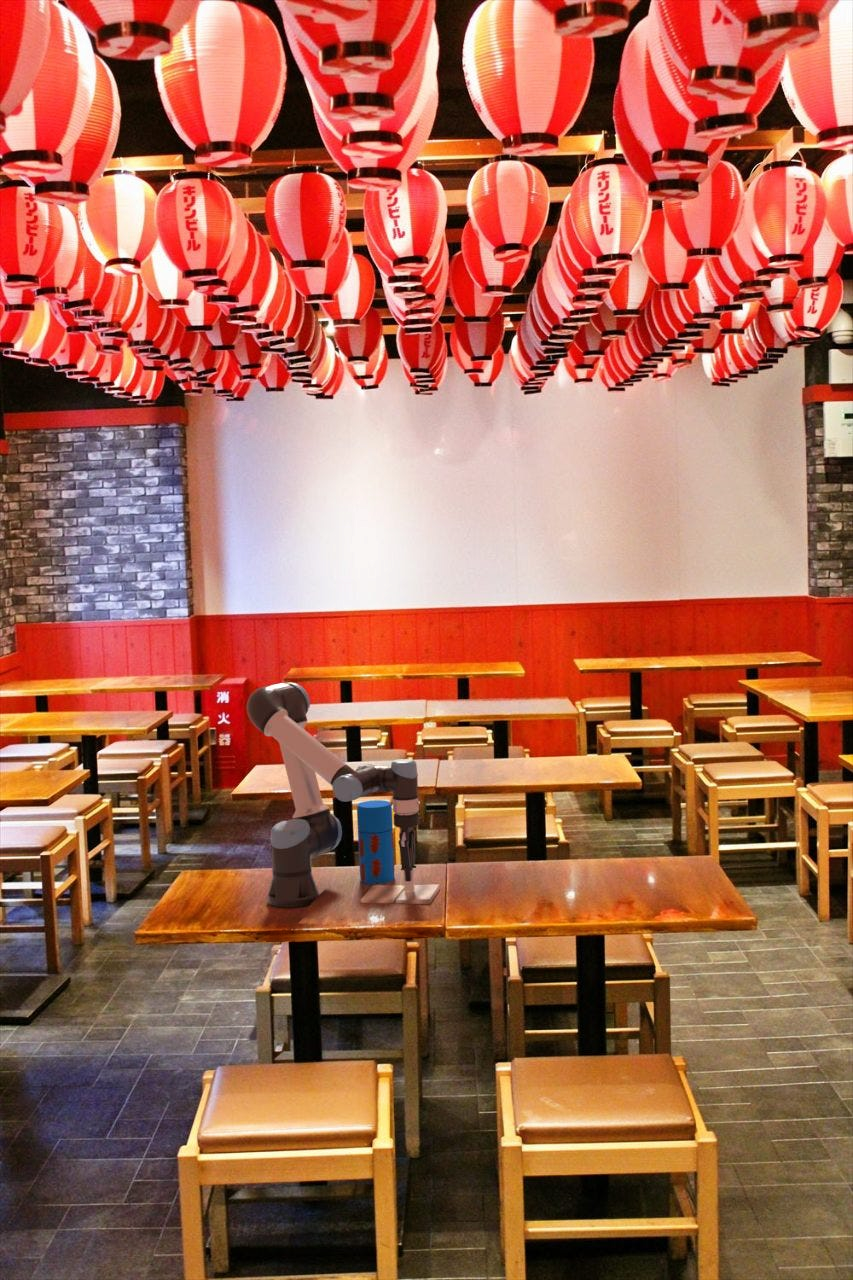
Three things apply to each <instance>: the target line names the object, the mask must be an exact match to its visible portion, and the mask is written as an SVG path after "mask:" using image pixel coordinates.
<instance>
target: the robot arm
mask: <svg viewBox="0 0 853 1280" xmlns="http://www.w3.org/2000/svg"><path fill="white" fill-rule="evenodd" d="M310 701H311V699H310V696H309V693H307V690H305V688H304V687H303V686H302V685H300V684H298V683H295V682H280V683H277V684H271V685H268V686H262V687H259V688H257V689H255V690H254V691H253V692H252V693H251V694H250V695H249V697H248V700H247V703H246V711H247V716H248V718H249V720H250V722H251V723H252V724H253V725H254V727H255V728H256V729H258V730H259V732H261V733H262V734H263V735H264V736H265V737H273V739H275V740H276V741H277V742H278V743H279V747H280V748H279V749H280V751H281V756H282V760H283V763H284V767H285V772H286V775H287V776H286V777H287V779H288V783H289V788H290V791H291V796H292V800H293V803H294V809H295V810H294V811H295V812H294V814H293V815H292V819H291V818H290V819H288V820H283V821H280V822H277V823H276V824H274V826H273V827H271V830H270V839H269V842H270V851H271V853H270V855H271V869H272V877H271V878H272V879H271V882H270V886H269V889H268V893H267V903H268V905H270V906H272V905H273V906H272V907H275V906H276V907H275V908H283V907H285V908H287V909H289V908H298V907H299V908H300V907H306V906H309V905H312V903H314V901H316V900H317V899H318V897H319V895H320V894H319V892H320V891H319V888H318V887H317V884H316V881H315V878H314V876H313V874H312V873H313V872H312V869H313V868H312V860H313V859H315V858H318V857H319V856H321V855H326V854H328V853H330V852H331V851H332V850H334V849H336V847H337V846H338V845H339V843H340V842H341V840H342V836H343V829H342V828H343V827H342V825H341V821H340V820H339V818H337V817H336V815H334V814H333V813H331V810H330V807H329V806H328V805H326V804H325V803H324V801H323V798H322V794H321V790H320V787H319V782H318V777H317V775H318V776H319V777H321V778H323V780H324V781H326V783H328V784H330V786H332V793H333V794H334V796H335V798H336V799H337V800H339V801H340V802H351V801H355V800H357V799H360V798H362V797H365V796H367V795H370V794H374V793H375V792H389V793H391V792H392V812H393V825H394V827H396V828H400V832H399V835H398V836H399V837H398V838H399V840H398V846H399V853H400V854H399V856H400V864H401V868H400V871H403V884H404V885H403V886H404V890H405V892H414V890H415V889H414V885H415V870H414V869H417V865H415V864H416V835H417V833H416V830H414V828H415V827H417V826H419V825H420V813H419V810H420V809H419V808H420V807H419V805H420V804H421V801H420V800H419V791H418V790H419V789H418V788H419V786H418V785H419V784H418V783H419V781H418V776H419V774H418V766H417V763H416V761H415V760H414V759H410V758H399V759H394V760H392V761H391V765H378V764H372V763H370V764H361V765H359V766H357V768H356V769H353V768H352V767H351V766H349V765H348V764H347V763H346V762H344V761H343V760H342V759H340V757H338V756H337V755H335V753H333V752H332V751H331V750H330V749H329V748H327V747H326V746H325V745H324V744H322V743H321V742H320V741H319V740H317V739H316V737H314V736H313V735H312V734H311V733H309V732H308V731H307V730H306V729H305V727H306V725H307V724H308V717H307V714H308V712H309V709H310V706H311V702H310Z"/></svg>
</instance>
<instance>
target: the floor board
mask: <svg viewBox="0 0 853 1280" xmlns="http://www.w3.org/2000/svg"><path fill="white" fill-rule="evenodd" d="M403 890H404V885H399V884H398V885H393V884H392V885H390V884H386V885H385V884H383V885H382V884H373V885H372V886H371V887H370V888H369V889H368V891H367V892H366V893H365V894H364V895H363V896H362V897H361V899H360V903H364V904H365V903H367V904H369V903H370V904H371V903H372V904H373V903H374V904H395V903H396V899H397V898H398V897H399V895H400V894H401V893H402V891H403Z"/></svg>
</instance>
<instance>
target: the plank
mask: <svg viewBox="0 0 853 1280" xmlns="http://www.w3.org/2000/svg"><path fill="white" fill-rule="evenodd" d="M414 889H415V890H414V892H405V890H403V891H402V893H401V894H400V895H399V897H398V898H397V899H396V901H395V903H396V904H409V905H410V904H412V905H413V904H414V905H415V904H418V905H430V904H431V903H432V901H433V900H434V899H435V897H436V896H437V894H438V893H439V891H440V889H441V886H440V884H436V883H435V884H414Z"/></svg>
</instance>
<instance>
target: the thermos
mask: <svg viewBox="0 0 853 1280" xmlns="http://www.w3.org/2000/svg"><path fill="white" fill-rule="evenodd" d="M356 818H357V821H356V823H357V837H358V838H357V840H358V862H359V878H360V881H361V882H362V883H365V884H370V885H372V884H373V885H381V884H386V883H390V882H392V881H394V880H395V855H394V854H395V853H394V852H395V851H394V832H393V831H394V829H393V825H394V823H393V805H392V802H390V801H388V800H380V799H379V800H376V799H375V800H367V801H361V802H359V803H357V805H356Z"/></svg>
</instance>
